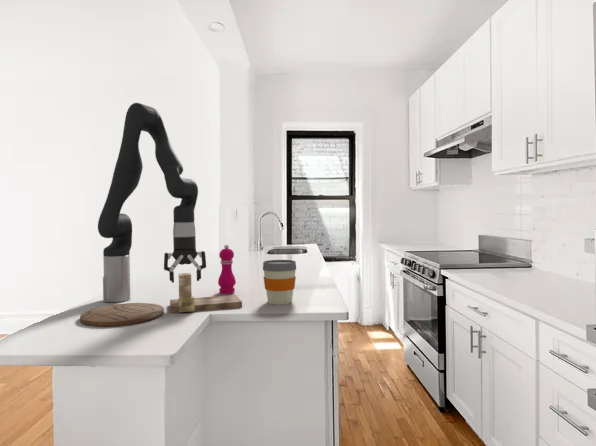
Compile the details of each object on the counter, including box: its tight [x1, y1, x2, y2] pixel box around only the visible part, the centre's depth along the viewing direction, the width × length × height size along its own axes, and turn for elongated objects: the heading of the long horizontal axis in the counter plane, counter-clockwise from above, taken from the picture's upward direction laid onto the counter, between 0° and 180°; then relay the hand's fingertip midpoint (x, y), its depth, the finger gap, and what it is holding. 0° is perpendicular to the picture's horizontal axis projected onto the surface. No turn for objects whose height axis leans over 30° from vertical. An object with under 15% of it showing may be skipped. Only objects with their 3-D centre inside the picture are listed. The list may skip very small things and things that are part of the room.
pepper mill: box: [217, 244, 237, 295], centre depth 171 cm, size 7×7×20 cm
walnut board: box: [169, 294, 243, 314], centre depth 147 cm, size 24×12×2 cm, turn 108°
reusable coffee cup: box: [262, 259, 297, 305], centre depth 153 cm, size 12×13×15 cm
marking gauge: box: [177, 272, 195, 313], centre depth 143 cm, size 5×13×11 cm, turn 18°
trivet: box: [79, 302, 165, 328], centre depth 133 cm, size 25×25×2 cm
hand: (185, 281), depth 144 cm, fingers open, 8 cm apart
